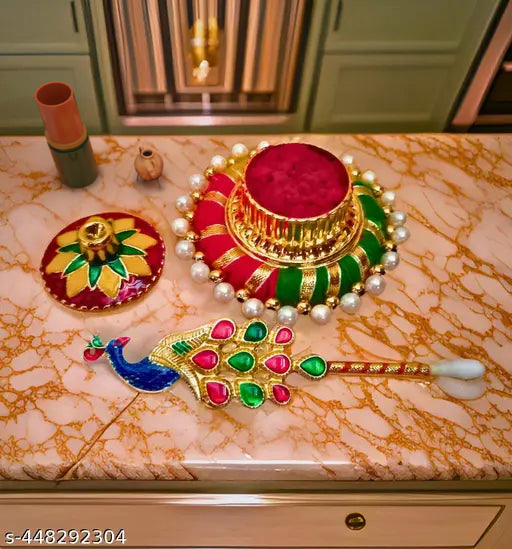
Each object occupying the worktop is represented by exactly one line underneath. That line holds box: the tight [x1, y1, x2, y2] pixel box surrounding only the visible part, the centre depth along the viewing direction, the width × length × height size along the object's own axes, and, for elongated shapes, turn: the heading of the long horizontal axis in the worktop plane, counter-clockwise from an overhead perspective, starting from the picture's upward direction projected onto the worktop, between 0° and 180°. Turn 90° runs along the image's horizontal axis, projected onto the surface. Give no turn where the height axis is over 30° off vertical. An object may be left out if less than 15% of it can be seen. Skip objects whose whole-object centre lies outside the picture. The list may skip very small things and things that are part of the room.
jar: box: [44, 121, 100, 189], centre depth 116 cm, size 8×8×12 cm
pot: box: [133, 146, 165, 188], centre depth 118 cm, size 6×8×6 cm
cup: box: [33, 80, 84, 144], centre depth 107 cm, size 7×7×9 cm
